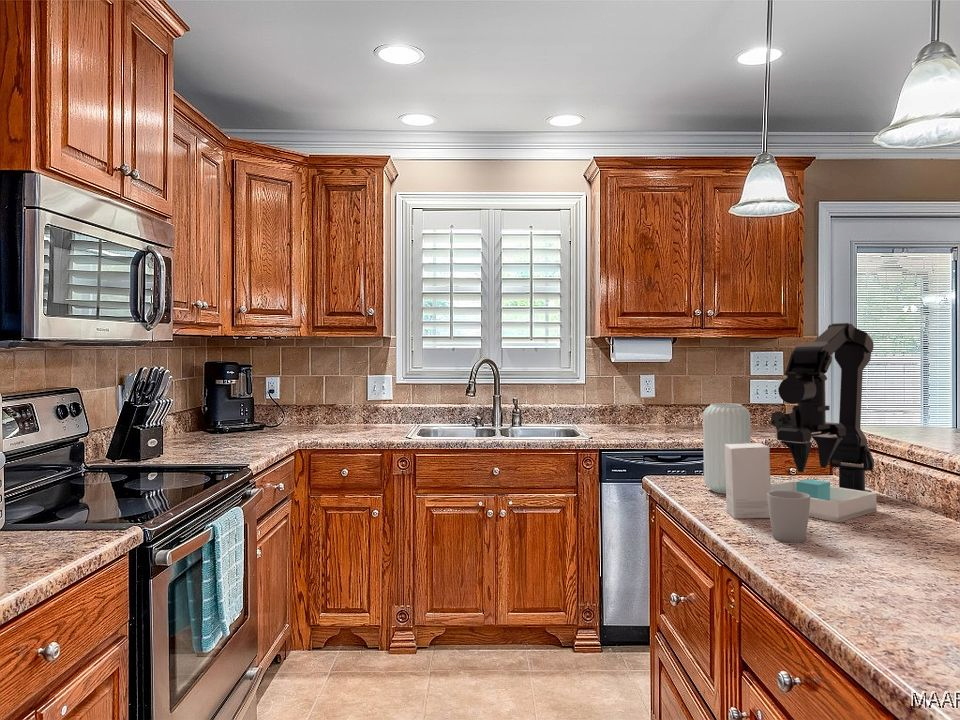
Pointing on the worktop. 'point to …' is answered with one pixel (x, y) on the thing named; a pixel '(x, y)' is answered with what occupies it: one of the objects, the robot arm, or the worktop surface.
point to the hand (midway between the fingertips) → (812, 469)
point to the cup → (789, 515)
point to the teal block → (815, 488)
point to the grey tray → (836, 502)
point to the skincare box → (747, 480)
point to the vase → (722, 439)
